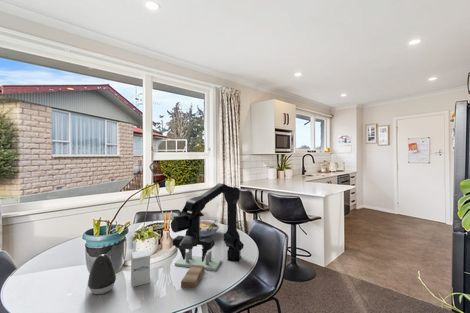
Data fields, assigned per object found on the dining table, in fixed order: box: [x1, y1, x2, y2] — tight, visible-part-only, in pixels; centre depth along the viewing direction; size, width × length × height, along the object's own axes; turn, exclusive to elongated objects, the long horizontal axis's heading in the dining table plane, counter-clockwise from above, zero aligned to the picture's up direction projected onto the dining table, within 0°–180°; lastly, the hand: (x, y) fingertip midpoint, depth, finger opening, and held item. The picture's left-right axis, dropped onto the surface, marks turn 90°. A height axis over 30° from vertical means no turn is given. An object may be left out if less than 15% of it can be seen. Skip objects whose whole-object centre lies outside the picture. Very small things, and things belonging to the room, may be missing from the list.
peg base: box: [174, 249, 222, 272], centre depth 122 cm, size 22×10×6 cm, turn 77°
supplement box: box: [130, 249, 151, 288], centre depth 105 cm, size 7×7×13 cm
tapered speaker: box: [87, 253, 117, 295], centre depth 98 cm, size 10×10×15 cm
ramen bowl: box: [200, 219, 221, 238], centre depth 163 cm, size 25×23×8 cm
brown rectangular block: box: [180, 265, 205, 290], centre depth 108 cm, size 15×6×3 cm, turn 172°
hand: (193, 260), depth 108 cm, fingers open, 9 cm apart
